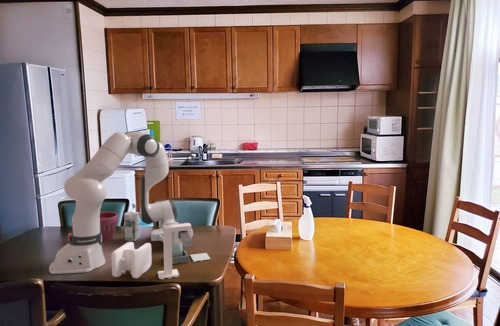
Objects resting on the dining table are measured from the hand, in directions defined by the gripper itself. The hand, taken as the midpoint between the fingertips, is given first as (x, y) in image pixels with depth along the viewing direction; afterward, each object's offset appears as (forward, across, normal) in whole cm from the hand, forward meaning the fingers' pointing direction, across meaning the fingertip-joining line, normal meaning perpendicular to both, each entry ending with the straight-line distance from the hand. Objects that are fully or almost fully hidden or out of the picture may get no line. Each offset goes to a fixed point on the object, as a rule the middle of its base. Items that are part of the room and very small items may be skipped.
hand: (174, 238), depth 178 cm
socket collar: (+8, 0, +7) cm, 11 cm away
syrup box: (-28, -18, +8) cm, 34 cm away
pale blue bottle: (+8, 0, +8) cm, 11 cm away
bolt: (+26, 0, -8) cm, 27 cm away
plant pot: (-34, -32, +8) cm, 47 cm away
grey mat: (+9, +11, +7) cm, 16 cm away
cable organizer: (+16, -20, +8) cm, 27 cm away
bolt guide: (+23, -3, +8) cm, 24 cm away
